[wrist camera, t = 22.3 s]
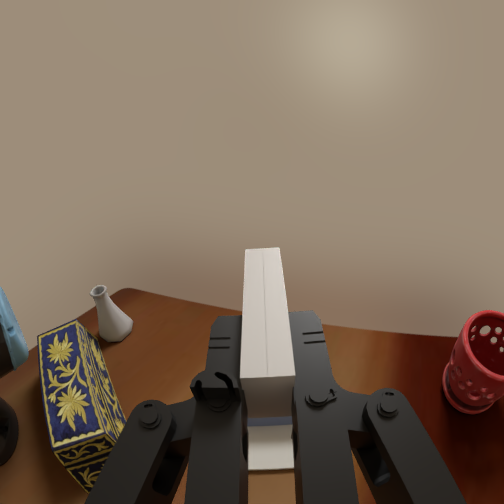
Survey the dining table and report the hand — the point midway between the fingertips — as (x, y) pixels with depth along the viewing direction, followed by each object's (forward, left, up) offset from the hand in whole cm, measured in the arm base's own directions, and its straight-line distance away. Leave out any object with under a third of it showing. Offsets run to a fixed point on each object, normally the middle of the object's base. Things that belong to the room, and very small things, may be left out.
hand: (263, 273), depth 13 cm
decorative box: (-28, -9, -31) cm, 42 cm away
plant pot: (+25, +20, -30) cm, 44 cm away
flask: (-37, +6, -30) cm, 48 cm away
